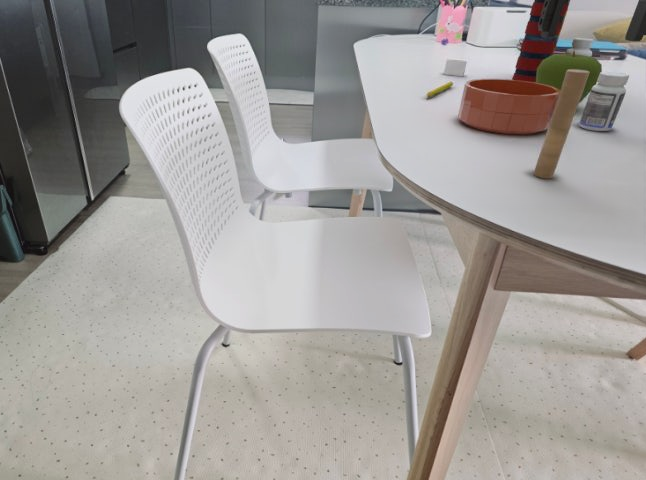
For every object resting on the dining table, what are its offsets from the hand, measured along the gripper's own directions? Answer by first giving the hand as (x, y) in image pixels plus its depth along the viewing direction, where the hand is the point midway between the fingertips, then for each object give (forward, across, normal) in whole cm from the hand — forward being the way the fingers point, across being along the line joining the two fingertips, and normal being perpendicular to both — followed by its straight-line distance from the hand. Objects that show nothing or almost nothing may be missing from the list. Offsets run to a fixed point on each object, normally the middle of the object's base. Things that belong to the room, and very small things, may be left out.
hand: (589, 39), depth 50 cm
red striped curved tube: (+15, +17, +66) cm, 70 cm away
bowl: (+15, +1, +25) cm, 29 cm away
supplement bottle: (+15, +26, +67) cm, 74 cm away
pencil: (+15, -6, +50) cm, 53 cm away
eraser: (+15, +1, +75) cm, 77 cm away
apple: (+15, +15, +41) cm, 46 cm away
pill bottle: (+15, +16, +26) cm, 34 cm away
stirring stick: (+15, 0, 0) cm, 15 cm away
